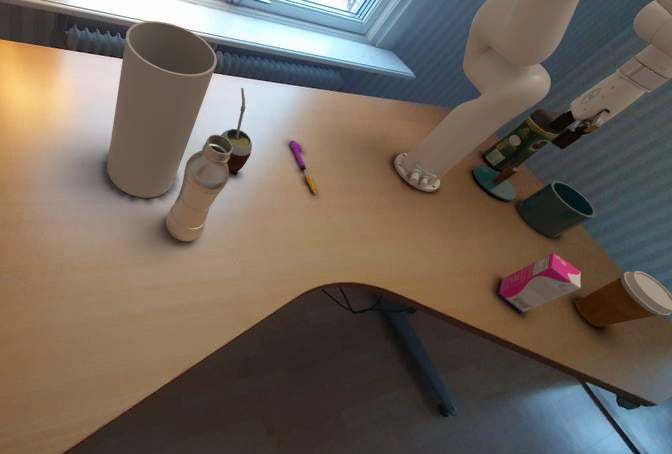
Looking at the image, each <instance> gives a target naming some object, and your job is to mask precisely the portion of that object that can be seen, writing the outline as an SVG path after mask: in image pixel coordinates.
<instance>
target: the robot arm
mask: <svg viewBox="0 0 672 454" xmlns="http://www.w3.org/2000/svg"><path fill="white" fill-rule="evenodd" d="M579 2H580V0H485V1H484V2H483V3H482V5H481V6H480V7H479V8H478V9H477V11H476V13H475V15H474V17H473V19H472V22H471V25H470V28H469V32H468V36H467V41H466V47H465V51H464V55H463V59H462V71H463V73H464V75H465V76H466V78H467V79H468V80H469V82H470V83H471V84H472V85H473V87H475V88H476V89H477V91H478V92H479V94H480V96H478V97H477V98H475V99H471V100H468V101H465V102H463V103H461V104H459V105H457V106H455V107H454V108H453V109H452V110H451V111H450V112H449V113H448V114H447V115H446V116H445V117H444V118H443V119H442V120H441V121H440V122H439V123H438V124H437V125H436V126H435V127H434V128H433V129H432V130H431V131H430V132H429V133H428V134H427V135H426V136H425V137H424V138H423V139H422V140H421V141H420V142H419V143H418V144H417V145H416V146H415V147H414V148H412V150H410V152H409V153H405V152H404V153H399V154H398V155H397V156H396V157H395V159H394V161H393V163H394V164H393V165H394V168H395V170H396V172H397V174H399V176H400V177H401V178H402V179H403V180H404V181H405V182H406V183H408V184H409V185H410V186H411V187H413V188H415V189H417V190H419V191H422V192H427V193H432V192H435V191H436V190H437V189H439V188H440V186H441V178H442V177H443V176H444V175H445V174H446V173H448V172H449V171H450V170H451V169H452V168H454V166H456V165H457V164H459V163H460V162H461V161H462V160H464V159H465V158H466V157H467V156H469V154H470V153H472V152H473V151H474V150H475V149H476V148H478V147H479V146H480V145H481V144H482V143H483V142H484V141H486V140H488V138H489V137H491V136H492V135H493V134H494V133H495V132H497V131H498V130H500V128H502V127H503V126H505V125H506V124H507V123H508V122H511V120H513V119H514V118H516V117H518V116H519V115H521V114H523V113H524V112H526V111H528V110H529V109H531V108H533V107H534V106H535V105H537V104H538V103H540V102H541V101H542V100H543V99H544V98H545V97H546V96H547V95H548V93H549V91H550V89H551V85H552V82H551V77H550V74H549V72H548V71H547V70H546V69H545V67H544V66H542V65H541V63H542V62H544V61H546V60H547V59H548V58H549V57H550V56H552V55H553V54H554V52H555V51H556V49H558V46H559V45H560V43H561V41H562V39H563V38H564V36H565V33H566V30H567V29H568V27H569V24H570V23H571V20H572V17H573V15H574V13H575V11H576V9H577V6H578V4H579ZM632 28H633V31H634V33H635V34H636V35H637V36H638V37H640V38H641V39H642V40H644V41H645V42H647V43H648V44H649V45H648V46H646V47H645V48H644V49H642V50H641V51H639V52H638V53H637V54H636V55H634V56H633V57H632V58H630V59H629V60H627V61H626V62H625V63H623V64H622V65H621V66H620V67H619V68H617V69H615V72H613V73H612V74H610V75H608V76H607V77H605V78H604V79H602V80H601V81H599V82H597V83H596V84H595V85H593V86H591V87H590V88H589V89H588V90H586V91H585V92H584V93H582V94H581V95H579V96H578V97H577V98H575V99H574V100H573V101H571V102H570V105H569V108H567V109H566V110H564V112H561V113H562V114H561V115H560V116H558V117H557V118H556V119H554V120H553V121H552V122H550V123H549V124H548V127H550V128H551V129H553V130H555V131H556V132H561V131H562V130H563V129H565V128H566V127H568V126H569V125H570V124H571V125H572V124H573V123H574V124H573V126H571V127H570V128H569V129H567V130H565V131H564V132H563V133H561V134H560V135H558V136H557V137H555V138H554V139H553V140H551V142H550V143H551V144H552V145H554V146H555V147H557V148H558V149H560V150H565V149H566V148H568V147H569V146H571V145H572V144H574V143H575V142H576V141H578V140H579V139H581V138H584V137H585V136H587V135H589V134H591V133H593V132H594V131H596V130H597V129H600V128H601V127H603V125H604V124H605V123H606V122H608V121H610V120H611V119H612V118H614V117H615V116H617V115H618V114H619V113H621V112H622V111H623V110H625V109H626V108H627V107H630V105H631V104H633V103H634V102H635V101H637V100H638V99H639V98H640V97H642V96H643V95H644V94H646V93H648V94H649V93H651V92H653V91H654V90H656V89H657V88H659V87H661V86H662V85H663V84H665V83H666V82H667V81H669V80H670V79H672V0H652V1H650V2H649V3H647V4H646V5H645V6H644V7H642V8H641V9H640V11H639V12H637V14H636V15H635V18H634V20H633V23H632Z"/></svg>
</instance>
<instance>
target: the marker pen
mask: <svg viewBox="0 0 672 454" xmlns="http://www.w3.org/2000/svg"><path fill="white" fill-rule="evenodd" d="M289 145H290V147H291V150H292V151H293V153H294V155H295V157H296V160H297V162H298V164H299V167H300V168H301V170H302V171H304V173H305V175H306V178H305V181H306V183H307V184H308V186H309V188H310V190H311V191H310V192H312V193H313V194H314V195H317V194H318V193H317V188H316V186H315V184H314V181H313V178H312V176H309V175H308V173H307V171H306V170H307V167H306V164H305V162H304V160H303V157H302V155H301V153H300V152H302V151H303V150H302V147H301V145H300V144H298V143H297V141H295V140H290V142H289Z"/></svg>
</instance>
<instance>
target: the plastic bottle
mask: <svg viewBox="0 0 672 454" xmlns="http://www.w3.org/2000/svg"><path fill="white" fill-rule="evenodd" d="M232 149H233V146H232V144H231V142H230V141H229V140H228V139H226V138H225V137H223V136H221V134H211V135H209V136H208V137H207V138H206V141H205V143H204V144H203V145H202V149H201V150H199V151H197V152H195V153H193V154H192V155H191V156H190V157H189V158H188V160H187V161H186V164H185V167H184V172H183V178H182V183H181V187H180V190H179V193H178V195H177V197H176V199H175V201H174V202H173V204H172V206H171V207H170V208H169V210H168V211H167V214H166V221H165V225H166V228H167V231H168V233H169V234H170V235H171V236H172V237H173V238H174V239H176V240H178V241H181V242H191V241H194V240H196V239H197V238H198V237H199V236H200V235H201V234H202V233H203V231H204V228H205V225H206V220H207V217H208V213H209V211H210V208H211V207H212V205H213V203H214V202H215V200H216V199H217V197H218V196H219V194H220V193H221V192H222V191H223V190H224V189H225V187H226V185H227V184H228V182H229V175H230V172H229V169H228V165H227V161H228V160H229V158H230V154H231V152H232Z"/></svg>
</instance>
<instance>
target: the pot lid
mask: <svg viewBox="0 0 672 454" xmlns="http://www.w3.org/2000/svg"><path fill="white" fill-rule="evenodd" d="M472 171H473V176H474V178H475V180H476V181H477V182H478V183H479V185H480V186H481V187H482V188H483V189H484V190H486V191H487V192H488V193H489V194H491V195H493V196H494V197H496V198H498V199H500V200H503V201H508V202H509V201H513V200H515V199H516V197H517V193H516V190H515V188H514V187H513V185H512V184H511V183H510V182H509V180H508V179H509V178H511V177H513V176H514V175H515V174H517V173H518V172H519V170H518V167H517V168H515V167H514V166H512V165H510V166H509V167H507V168H506V169H505V170H503V171H500V172H498V171H496V169H493V168H491V167H488V166H485V165H477V166H475V167H474V168H473V170H472Z"/></svg>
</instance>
